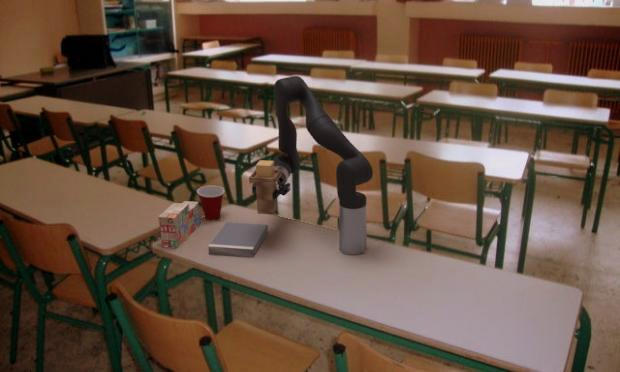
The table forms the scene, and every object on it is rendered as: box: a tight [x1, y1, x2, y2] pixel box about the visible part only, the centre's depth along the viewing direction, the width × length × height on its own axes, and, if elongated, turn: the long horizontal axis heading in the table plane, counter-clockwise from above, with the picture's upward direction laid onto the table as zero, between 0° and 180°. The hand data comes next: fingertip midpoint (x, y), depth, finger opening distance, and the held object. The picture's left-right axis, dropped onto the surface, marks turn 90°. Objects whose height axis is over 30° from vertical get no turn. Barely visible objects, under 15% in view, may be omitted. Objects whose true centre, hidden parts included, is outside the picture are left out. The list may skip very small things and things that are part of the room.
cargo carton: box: [255, 159, 275, 178], centre depth 189 cm, size 5×5×5 cm
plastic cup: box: [196, 184, 225, 221], centre depth 220 cm, size 11×11×12 cm
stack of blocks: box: [158, 200, 202, 249], centre depth 207 cm, size 21×6×12 cm, turn 167°
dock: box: [207, 221, 269, 258], centre depth 201 cm, size 16×20×3 cm
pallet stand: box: [248, 169, 282, 215], centre depth 193 cm, size 9×9×14 cm
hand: (264, 196), depth 190 cm, fingers closed on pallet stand, 5 cm apart
